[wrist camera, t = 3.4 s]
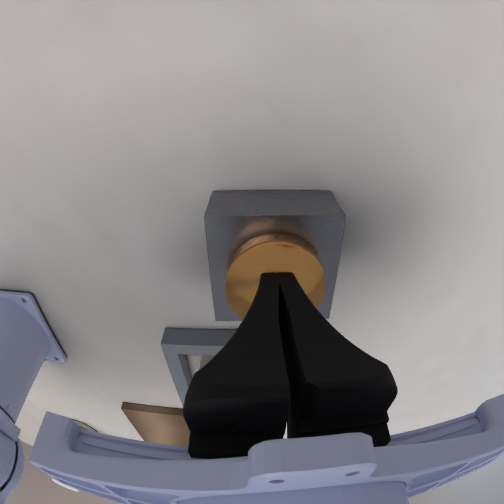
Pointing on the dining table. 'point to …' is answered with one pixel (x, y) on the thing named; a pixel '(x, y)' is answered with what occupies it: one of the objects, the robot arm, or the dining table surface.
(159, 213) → the dining table surface
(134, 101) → the dining table surface
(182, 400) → the collar
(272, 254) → the plunger
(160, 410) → the pad
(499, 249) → the dining table surface
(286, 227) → the plunger base
